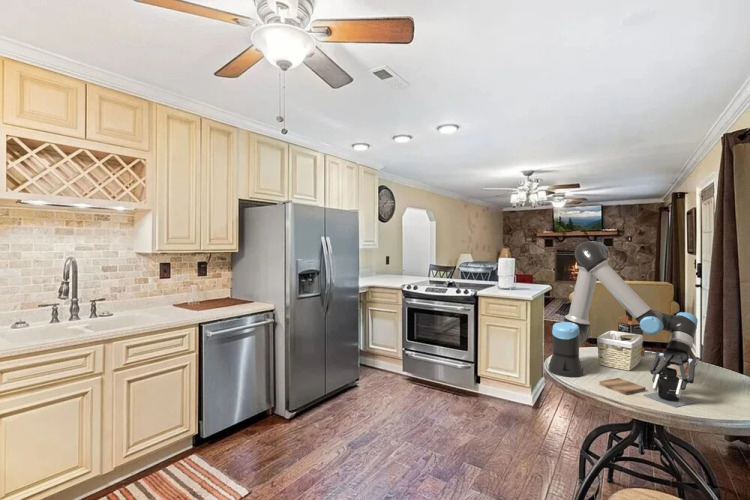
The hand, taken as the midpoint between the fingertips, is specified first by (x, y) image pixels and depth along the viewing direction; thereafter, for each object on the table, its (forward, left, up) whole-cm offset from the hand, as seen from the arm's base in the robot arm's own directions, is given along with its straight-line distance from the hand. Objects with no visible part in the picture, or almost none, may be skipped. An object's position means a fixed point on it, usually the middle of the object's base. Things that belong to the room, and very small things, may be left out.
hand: (665, 392), depth 147 cm
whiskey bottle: (-48, +49, -4) cm, 69 cm away
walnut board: (-16, -3, -3) cm, 17 cm away
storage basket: (-38, +28, -4) cm, 48 cm away
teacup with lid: (-19, +40, -4) cm, 45 cm away
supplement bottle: (-1, +3, -3) cm, 5 cm away
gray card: (-1, +3, -3) cm, 5 cm away
